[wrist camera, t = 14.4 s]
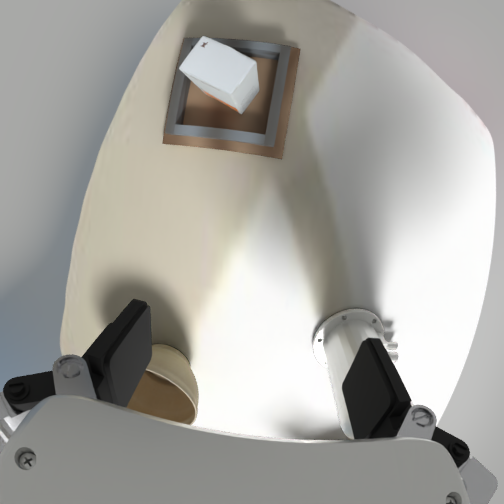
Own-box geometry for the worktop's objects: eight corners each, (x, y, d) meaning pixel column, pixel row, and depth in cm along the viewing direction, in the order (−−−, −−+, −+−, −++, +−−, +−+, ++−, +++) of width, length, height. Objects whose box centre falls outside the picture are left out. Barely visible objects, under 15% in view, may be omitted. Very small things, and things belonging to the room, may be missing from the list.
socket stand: (299, 52, 30) (303, 40, 26) (281, 159, 35) (283, 158, 31) (186, 42, 30) (177, 30, 26) (166, 144, 35) (153, 142, 31)
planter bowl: (226, 365, 47) (217, 410, 37) (178, 400, 51) (165, 439, 41) (153, 311, 44) (127, 349, 34) (116, 355, 48) (93, 391, 38)
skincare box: (204, 94, 31) (175, 67, 20) (222, 69, 30) (202, 33, 19) (242, 116, 32) (230, 96, 21) (261, 90, 31) (258, 59, 20)
